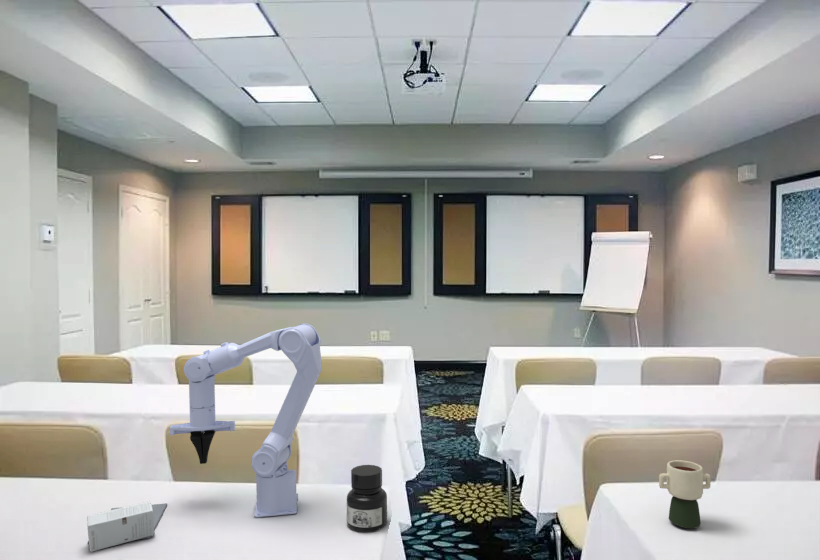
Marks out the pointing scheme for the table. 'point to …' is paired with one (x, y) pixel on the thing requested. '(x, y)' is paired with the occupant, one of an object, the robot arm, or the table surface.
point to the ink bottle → (366, 499)
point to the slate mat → (154, 514)
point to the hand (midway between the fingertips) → (203, 462)
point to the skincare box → (120, 525)
